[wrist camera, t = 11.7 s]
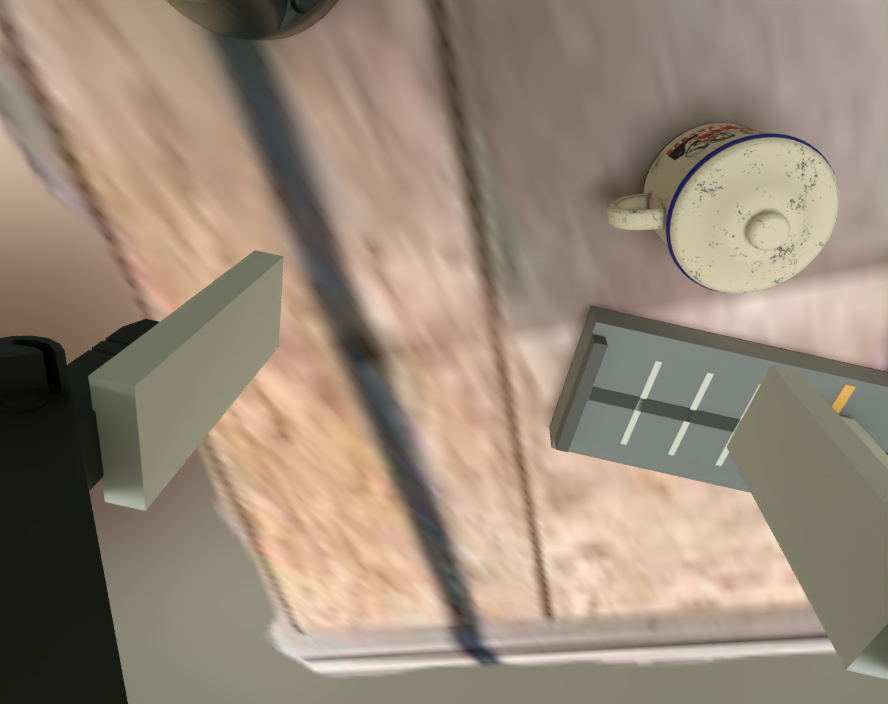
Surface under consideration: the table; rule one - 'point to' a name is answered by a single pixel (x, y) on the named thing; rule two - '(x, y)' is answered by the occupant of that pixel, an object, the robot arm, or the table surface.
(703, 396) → the fader console
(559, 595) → the table surface
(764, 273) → the teacup with lid
